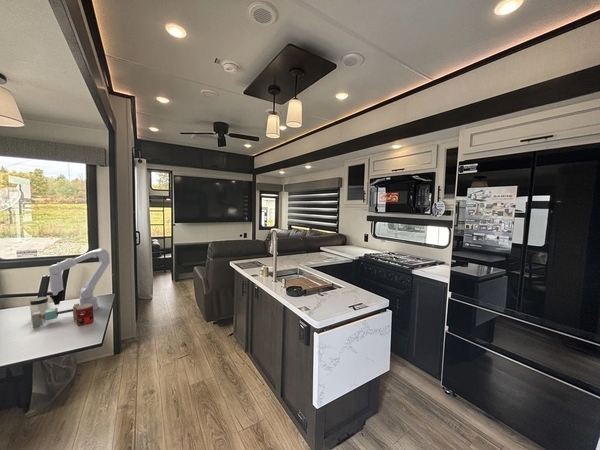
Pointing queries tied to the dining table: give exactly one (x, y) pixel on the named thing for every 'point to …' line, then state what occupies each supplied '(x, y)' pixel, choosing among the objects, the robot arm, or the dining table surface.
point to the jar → (39, 305)
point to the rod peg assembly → (38, 316)
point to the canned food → (84, 314)
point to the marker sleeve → (51, 314)
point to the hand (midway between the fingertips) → (58, 302)
